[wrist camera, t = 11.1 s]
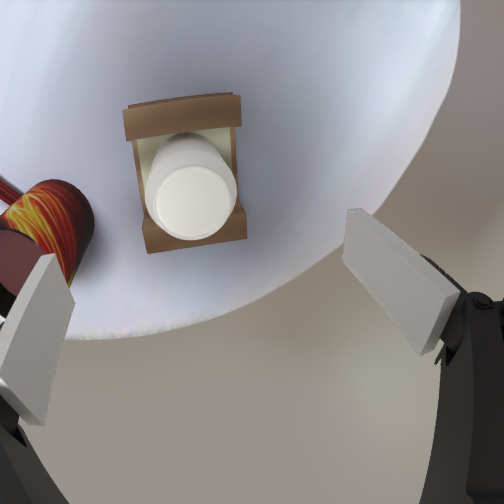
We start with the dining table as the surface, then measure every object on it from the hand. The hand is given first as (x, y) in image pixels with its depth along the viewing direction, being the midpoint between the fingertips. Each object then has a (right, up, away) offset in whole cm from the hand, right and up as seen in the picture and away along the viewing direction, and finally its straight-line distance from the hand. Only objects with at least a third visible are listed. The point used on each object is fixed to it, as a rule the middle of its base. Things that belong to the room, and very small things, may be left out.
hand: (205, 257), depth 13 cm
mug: (-22, +4, +15) cm, 27 cm away
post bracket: (-5, +9, +17) cm, 20 cm away
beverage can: (-5, +9, +16) cm, 19 cm away
